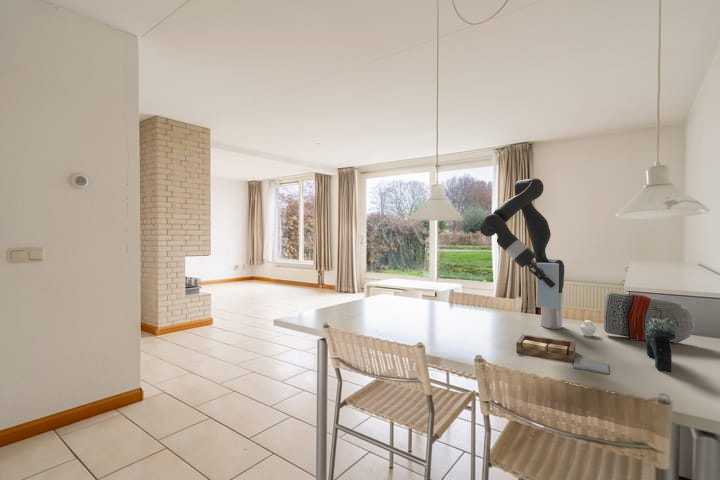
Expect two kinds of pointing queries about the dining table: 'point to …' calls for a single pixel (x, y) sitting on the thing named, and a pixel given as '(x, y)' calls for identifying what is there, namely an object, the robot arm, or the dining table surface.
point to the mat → (591, 366)
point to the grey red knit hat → (644, 315)
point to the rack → (569, 344)
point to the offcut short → (558, 349)
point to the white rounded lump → (588, 328)
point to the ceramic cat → (660, 341)
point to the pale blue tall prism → (544, 292)
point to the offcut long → (534, 345)
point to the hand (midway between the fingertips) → (553, 285)
